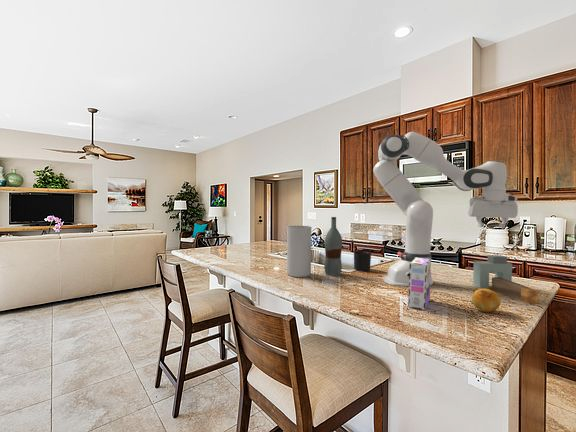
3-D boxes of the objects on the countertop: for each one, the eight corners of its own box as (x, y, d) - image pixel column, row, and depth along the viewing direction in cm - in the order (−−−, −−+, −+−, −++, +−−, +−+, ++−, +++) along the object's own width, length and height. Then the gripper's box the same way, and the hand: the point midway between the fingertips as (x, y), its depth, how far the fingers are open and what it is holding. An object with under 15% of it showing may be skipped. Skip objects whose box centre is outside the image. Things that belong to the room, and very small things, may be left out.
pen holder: (369, 268, 172) (369, 250, 172) (372, 271, 163) (372, 253, 162) (352, 267, 173) (352, 250, 173) (354, 271, 164) (354, 253, 163)
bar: (526, 303, 114) (527, 290, 113) (491, 288, 134) (491, 277, 133) (537, 303, 114) (537, 290, 113) (500, 288, 134) (500, 277, 133)
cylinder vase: (288, 271, 162) (288, 225, 161) (311, 272, 161) (312, 225, 159) (285, 277, 150) (285, 227, 149) (310, 278, 148) (310, 227, 147)
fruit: (489, 317, 100) (490, 293, 99) (466, 308, 107) (467, 286, 107) (504, 313, 103) (505, 290, 103) (481, 305, 110) (482, 284, 110)
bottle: (322, 272, 161) (323, 216, 160) (338, 271, 162) (339, 216, 161) (326, 276, 152) (327, 217, 151) (343, 276, 153) (345, 217, 152)
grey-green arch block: (479, 287, 134) (481, 256, 133) (472, 284, 139) (474, 254, 138) (511, 288, 134) (512, 257, 133) (503, 285, 139) (504, 255, 138)
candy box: (425, 310, 105) (426, 264, 104) (407, 307, 108) (408, 262, 107) (430, 300, 116) (431, 258, 116) (414, 297, 120) (415, 256, 119)
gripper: (474, 196, 134) (472, 227, 134) (521, 197, 133) (519, 228, 134) (466, 196, 140) (464, 225, 141) (511, 197, 139) (509, 227, 140)
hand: (491, 227), depth 137 cm, fingers open, 8 cm apart
